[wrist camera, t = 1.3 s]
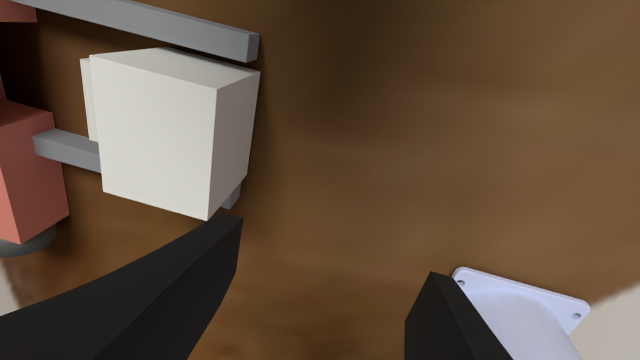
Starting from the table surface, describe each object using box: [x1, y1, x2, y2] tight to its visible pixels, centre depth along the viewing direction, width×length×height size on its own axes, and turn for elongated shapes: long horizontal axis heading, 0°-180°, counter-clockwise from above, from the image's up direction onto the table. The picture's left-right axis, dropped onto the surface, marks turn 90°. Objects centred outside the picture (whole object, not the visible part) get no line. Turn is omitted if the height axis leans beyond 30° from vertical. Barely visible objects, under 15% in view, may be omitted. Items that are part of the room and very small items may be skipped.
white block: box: [80, 47, 261, 221], centre depth 16 cm, size 6×8×5 cm
